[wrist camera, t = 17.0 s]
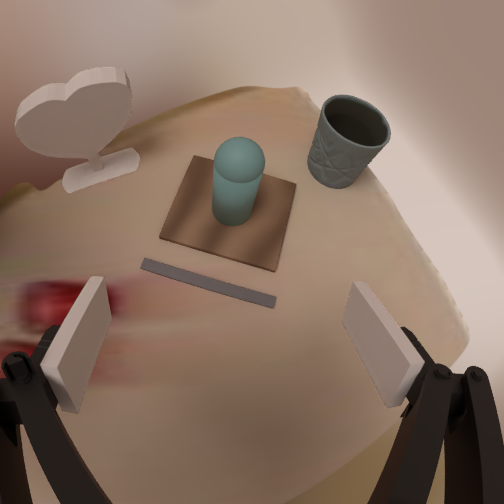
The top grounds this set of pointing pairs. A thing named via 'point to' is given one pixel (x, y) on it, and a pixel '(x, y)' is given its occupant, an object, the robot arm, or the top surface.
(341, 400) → the top surface
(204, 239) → the board
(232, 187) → the teal domed cylinder
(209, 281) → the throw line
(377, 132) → the grey textured cup
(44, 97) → the heart sculpture
